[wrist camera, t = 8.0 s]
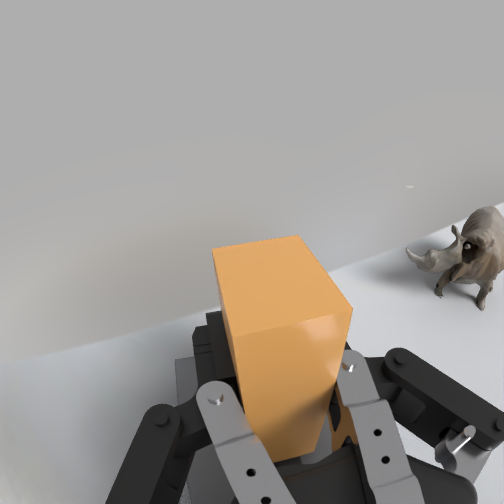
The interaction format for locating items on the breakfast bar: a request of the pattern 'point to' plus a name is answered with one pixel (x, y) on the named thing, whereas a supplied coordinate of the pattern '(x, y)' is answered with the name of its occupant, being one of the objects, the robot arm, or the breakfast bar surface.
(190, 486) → the breaker box
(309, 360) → the handle
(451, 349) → the breakfast bar surface
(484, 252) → the rhinoceros figurine
